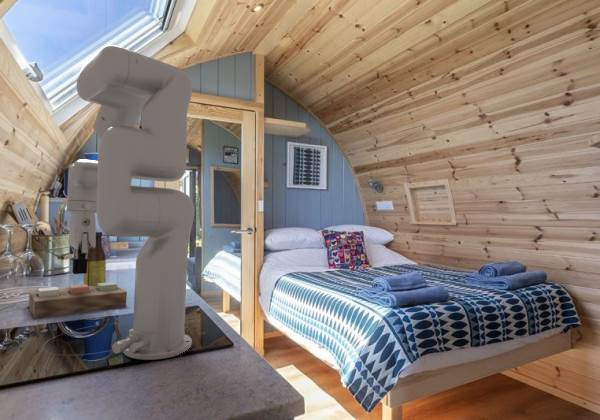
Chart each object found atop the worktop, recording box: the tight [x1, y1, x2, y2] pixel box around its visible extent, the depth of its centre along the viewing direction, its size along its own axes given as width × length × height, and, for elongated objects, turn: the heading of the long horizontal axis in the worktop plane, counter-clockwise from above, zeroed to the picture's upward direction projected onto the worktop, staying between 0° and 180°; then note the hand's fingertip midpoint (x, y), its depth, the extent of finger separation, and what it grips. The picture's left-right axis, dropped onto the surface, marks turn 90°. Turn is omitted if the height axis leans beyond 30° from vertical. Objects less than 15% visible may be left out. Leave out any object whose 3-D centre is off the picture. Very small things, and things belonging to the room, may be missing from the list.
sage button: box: [97, 281, 118, 291], centre depth 105 cm, size 4×4×3 cm
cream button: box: [37, 286, 60, 298], centre depth 96 cm, size 4×4×3 cm
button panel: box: [28, 285, 128, 319], centre depth 100 cm, size 21×14×4 cm, turn 131°
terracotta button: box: [68, 283, 89, 294], centre depth 100 cm, size 4×4×3 cm
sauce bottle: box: [83, 231, 107, 286], centre depth 117 cm, size 6×6×20 cm
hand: (79, 273), depth 100 cm, fingers closed
